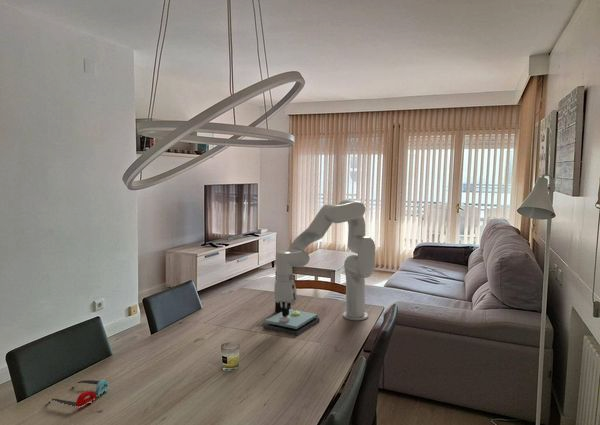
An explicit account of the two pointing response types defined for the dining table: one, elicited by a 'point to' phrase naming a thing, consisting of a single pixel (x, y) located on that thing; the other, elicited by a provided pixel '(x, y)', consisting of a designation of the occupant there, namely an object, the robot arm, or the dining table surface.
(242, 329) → the dining table surface
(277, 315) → the plate
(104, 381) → the novelty glasses
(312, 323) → the levelling base
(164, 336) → the dining table surface
